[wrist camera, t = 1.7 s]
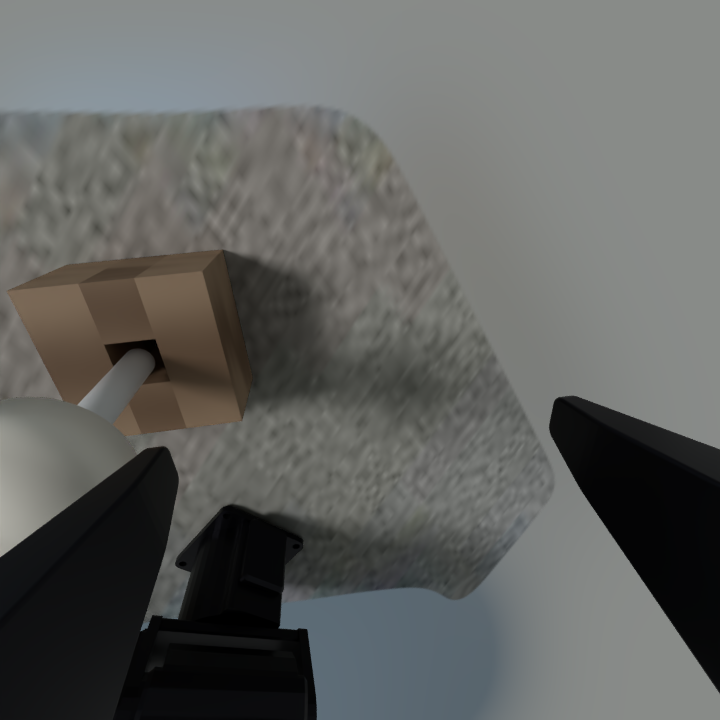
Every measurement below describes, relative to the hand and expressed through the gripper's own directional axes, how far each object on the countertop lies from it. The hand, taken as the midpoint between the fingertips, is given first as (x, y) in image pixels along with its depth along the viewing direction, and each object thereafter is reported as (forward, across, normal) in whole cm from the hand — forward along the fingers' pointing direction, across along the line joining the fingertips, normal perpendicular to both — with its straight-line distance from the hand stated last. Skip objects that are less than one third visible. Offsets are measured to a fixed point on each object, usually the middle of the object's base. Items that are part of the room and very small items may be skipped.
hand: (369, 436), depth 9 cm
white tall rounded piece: (+9, +9, +1) cm, 12 cm away
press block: (+12, +9, +1) cm, 15 cm away
